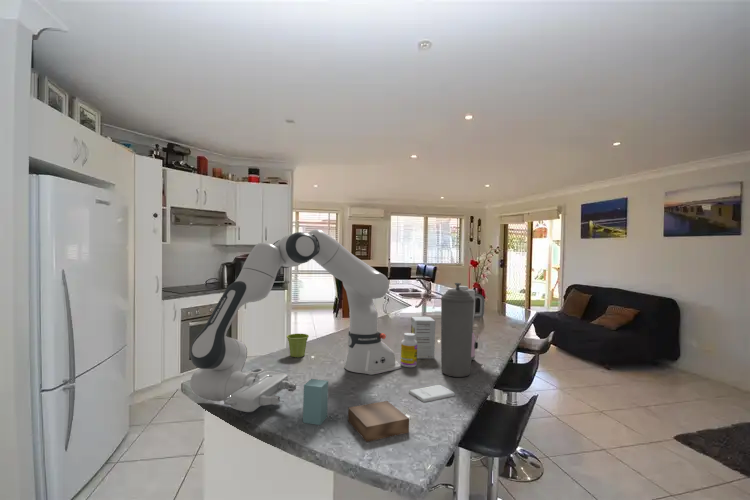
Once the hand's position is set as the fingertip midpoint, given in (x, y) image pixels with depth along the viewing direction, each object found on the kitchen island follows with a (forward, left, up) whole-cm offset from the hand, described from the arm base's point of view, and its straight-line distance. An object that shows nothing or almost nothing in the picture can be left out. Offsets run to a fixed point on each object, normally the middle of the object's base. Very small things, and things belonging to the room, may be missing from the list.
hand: (287, 393), depth 101 cm
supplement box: (-69, -36, -6) cm, 78 cm away
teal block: (-7, +6, -6) cm, 10 cm away
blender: (-83, -24, -6) cm, 86 cm away
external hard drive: (-47, +3, -7) cm, 47 cm away
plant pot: (-17, -55, -6) cm, 58 cm away
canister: (-68, -11, -6) cm, 69 cm away
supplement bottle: (-55, -26, -6) cm, 61 cm away
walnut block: (-21, +16, -6) cm, 27 cm away
